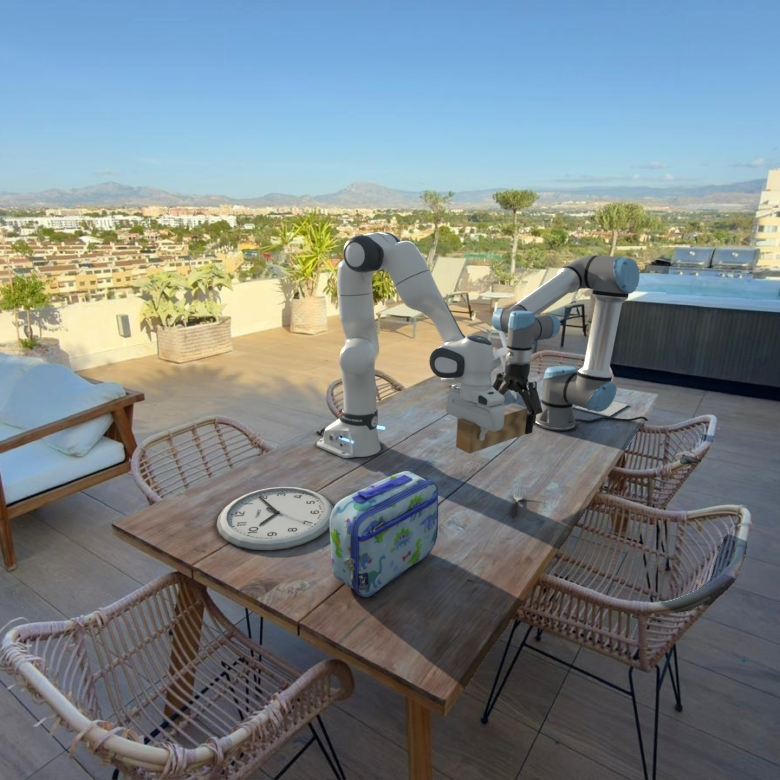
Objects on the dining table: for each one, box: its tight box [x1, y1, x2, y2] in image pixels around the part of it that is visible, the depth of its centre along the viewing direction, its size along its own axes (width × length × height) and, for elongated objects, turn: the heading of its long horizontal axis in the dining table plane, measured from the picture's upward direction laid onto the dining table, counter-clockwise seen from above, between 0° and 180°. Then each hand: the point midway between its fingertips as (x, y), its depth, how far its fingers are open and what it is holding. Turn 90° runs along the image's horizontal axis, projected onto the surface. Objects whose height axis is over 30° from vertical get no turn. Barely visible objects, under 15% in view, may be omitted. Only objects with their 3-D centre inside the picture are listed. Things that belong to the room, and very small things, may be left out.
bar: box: [455, 402, 529, 454], centre depth 161 cm, size 26×6×9 cm, turn 128°
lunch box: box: [329, 470, 439, 598], centre depth 113 cm, size 26×11×21 cm, turn 134°
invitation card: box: [573, 400, 629, 417], centre depth 226 cm, size 21×1×15 cm
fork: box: [511, 486, 525, 519], centre depth 144 cm, size 3×16×2 cm, turn 160°
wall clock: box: [216, 486, 334, 551], centre depth 136 cm, size 30×2×30 cm
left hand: (472, 435), depth 156 cm, fingers closed on bar, 6 cm apart
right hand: (511, 426), depth 167 cm, fingers open, 12 cm apart
